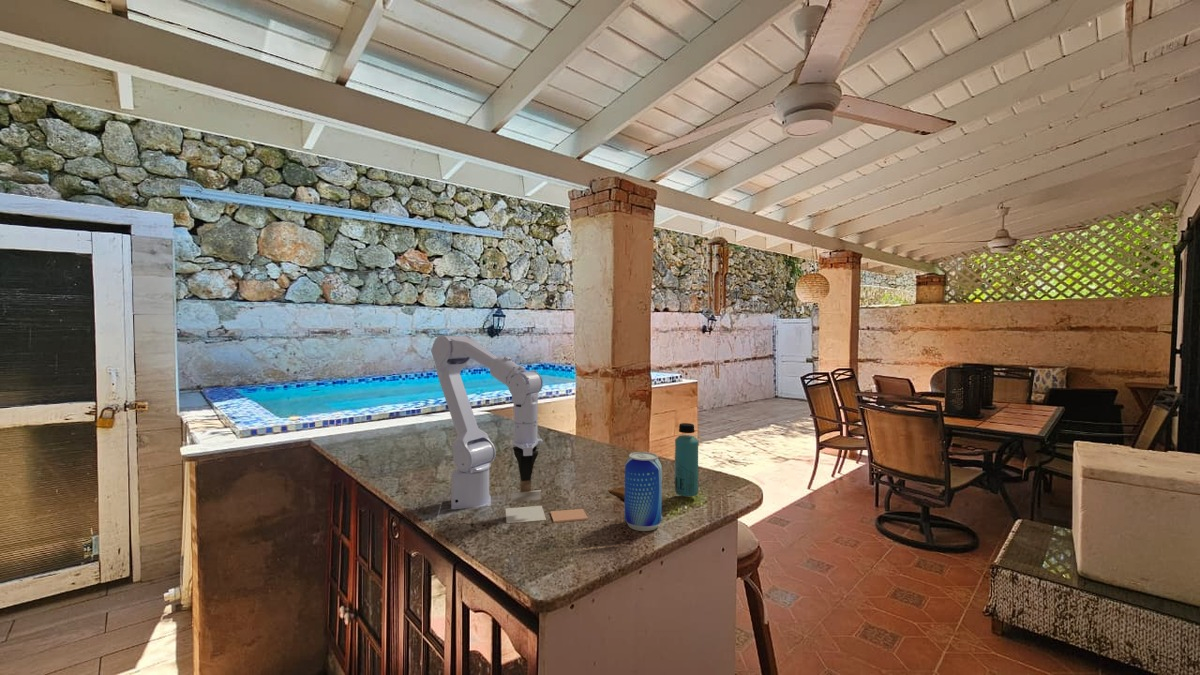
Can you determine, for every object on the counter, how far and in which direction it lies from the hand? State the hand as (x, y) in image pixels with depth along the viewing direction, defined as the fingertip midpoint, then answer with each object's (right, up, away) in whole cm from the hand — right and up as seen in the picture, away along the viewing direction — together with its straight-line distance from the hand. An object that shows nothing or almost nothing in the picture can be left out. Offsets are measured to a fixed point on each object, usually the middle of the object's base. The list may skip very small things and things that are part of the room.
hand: (525, 478), depth 111 cm
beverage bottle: (+41, -10, +13) cm, 44 cm away
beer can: (+28, -10, -5) cm, 30 cm away
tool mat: (0, -9, 0) cm, 9 cm away
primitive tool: (+26, -10, +11) cm, 30 cm away
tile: (+10, -9, +2) cm, 13 cm away
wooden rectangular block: (0, -5, 0) cm, 5 cm away
